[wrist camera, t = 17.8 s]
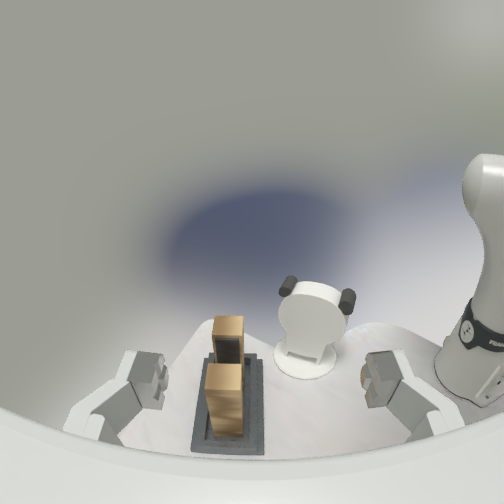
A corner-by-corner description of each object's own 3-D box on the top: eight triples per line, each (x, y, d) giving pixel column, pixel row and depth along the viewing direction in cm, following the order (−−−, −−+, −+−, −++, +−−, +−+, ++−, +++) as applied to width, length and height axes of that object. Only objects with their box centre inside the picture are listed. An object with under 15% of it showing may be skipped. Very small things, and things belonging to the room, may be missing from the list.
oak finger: (243, 412, 41) (241, 361, 35) (242, 437, 37) (240, 390, 32) (216, 411, 41) (208, 360, 35) (214, 436, 37) (204, 389, 32)
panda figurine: (344, 343, 55) (360, 277, 48) (331, 387, 46) (350, 320, 39) (285, 328, 59) (290, 262, 52) (263, 369, 50) (266, 300, 43)
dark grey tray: (262, 363, 51) (262, 353, 50) (263, 454, 36) (264, 448, 34) (204, 361, 51) (203, 352, 50) (191, 451, 36) (188, 444, 34)
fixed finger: (244, 370, 49) (243, 316, 43) (243, 390, 45) (242, 337, 39) (220, 369, 49) (214, 315, 43) (218, 390, 45) (211, 336, 39)
